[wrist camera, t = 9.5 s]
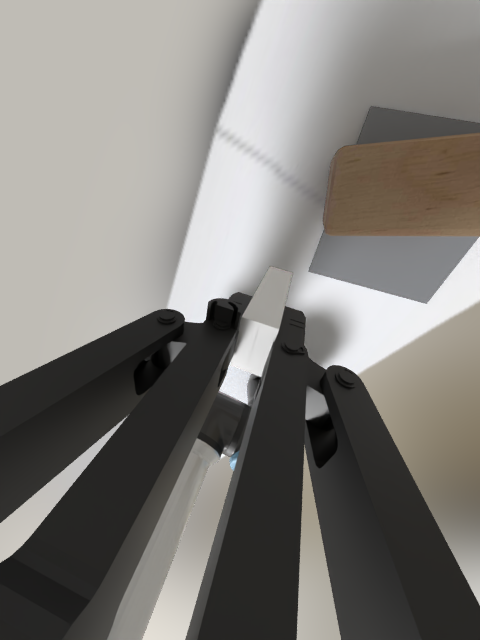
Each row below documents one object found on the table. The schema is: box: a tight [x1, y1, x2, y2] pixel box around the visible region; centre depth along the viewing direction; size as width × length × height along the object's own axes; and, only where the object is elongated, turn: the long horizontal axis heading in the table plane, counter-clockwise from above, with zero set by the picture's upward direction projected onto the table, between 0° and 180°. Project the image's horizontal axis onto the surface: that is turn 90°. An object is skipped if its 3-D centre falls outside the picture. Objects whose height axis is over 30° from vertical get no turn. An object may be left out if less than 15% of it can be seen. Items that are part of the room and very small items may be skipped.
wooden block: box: [323, 133, 480, 236], centre depth 29 cm, size 10×10×20 cm
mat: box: [309, 106, 480, 304], centre depth 35 cm, size 24×22×1 cm
